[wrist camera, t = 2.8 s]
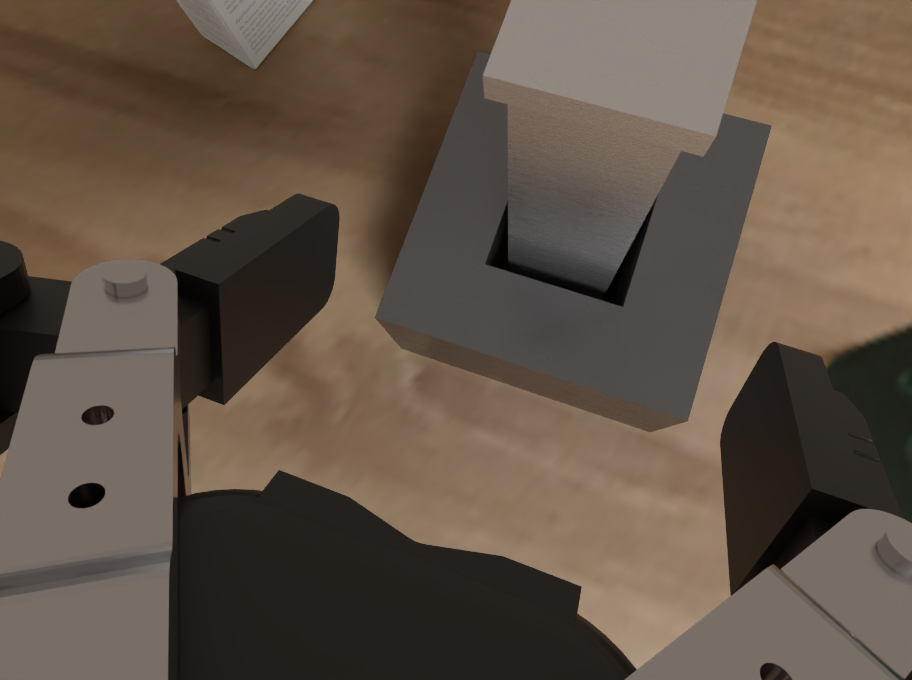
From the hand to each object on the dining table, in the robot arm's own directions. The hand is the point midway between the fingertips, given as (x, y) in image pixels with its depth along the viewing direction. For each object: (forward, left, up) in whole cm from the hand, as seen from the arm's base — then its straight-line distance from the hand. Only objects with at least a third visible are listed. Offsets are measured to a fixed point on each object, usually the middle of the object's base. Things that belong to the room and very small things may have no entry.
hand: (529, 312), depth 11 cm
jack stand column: (0, +7, -18) cm, 19 cm away
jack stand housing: (0, +7, -18) cm, 19 cm away
